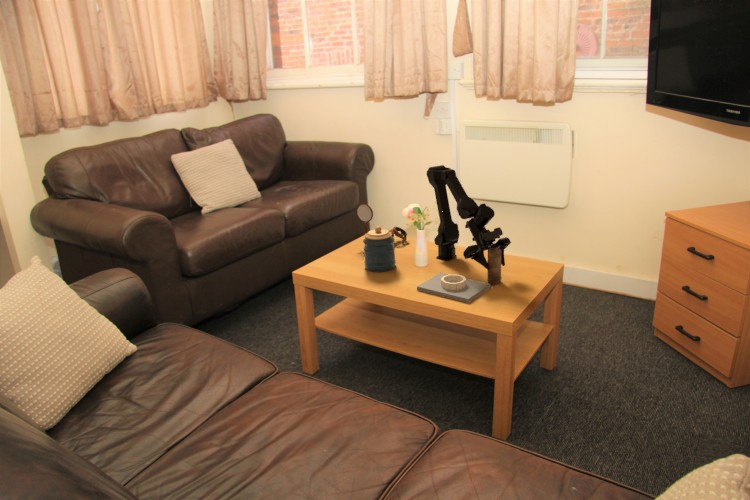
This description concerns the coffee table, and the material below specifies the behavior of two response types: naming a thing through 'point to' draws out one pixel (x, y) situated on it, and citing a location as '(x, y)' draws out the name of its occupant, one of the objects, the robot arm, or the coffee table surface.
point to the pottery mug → (403, 233)
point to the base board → (454, 294)
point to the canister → (379, 250)
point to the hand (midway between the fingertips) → (496, 267)
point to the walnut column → (494, 266)
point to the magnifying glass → (365, 214)
